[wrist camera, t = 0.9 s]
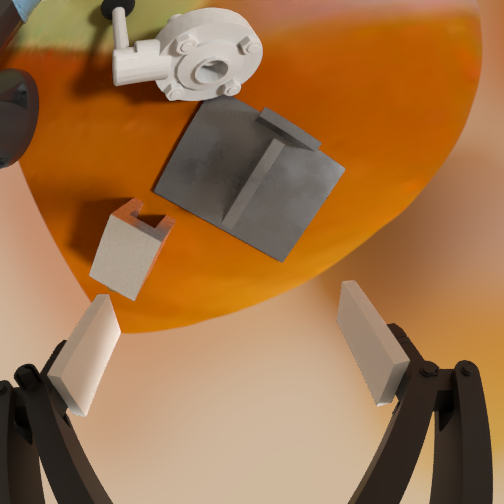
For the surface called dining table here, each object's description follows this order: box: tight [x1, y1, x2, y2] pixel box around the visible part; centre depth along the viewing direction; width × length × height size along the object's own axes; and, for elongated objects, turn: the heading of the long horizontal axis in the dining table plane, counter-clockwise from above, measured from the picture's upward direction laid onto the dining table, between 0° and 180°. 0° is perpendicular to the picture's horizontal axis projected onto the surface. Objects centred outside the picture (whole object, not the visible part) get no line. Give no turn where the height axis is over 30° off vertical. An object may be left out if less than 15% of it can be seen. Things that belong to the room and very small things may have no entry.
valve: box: [101, 0, 263, 101], centre depth 23 cm, size 10×18×15 cm
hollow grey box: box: [89, 198, 176, 301], centre depth 32 cm, size 6×8×8 cm
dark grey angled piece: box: [154, 94, 345, 263], centre depth 30 cm, size 18×14×8 cm
